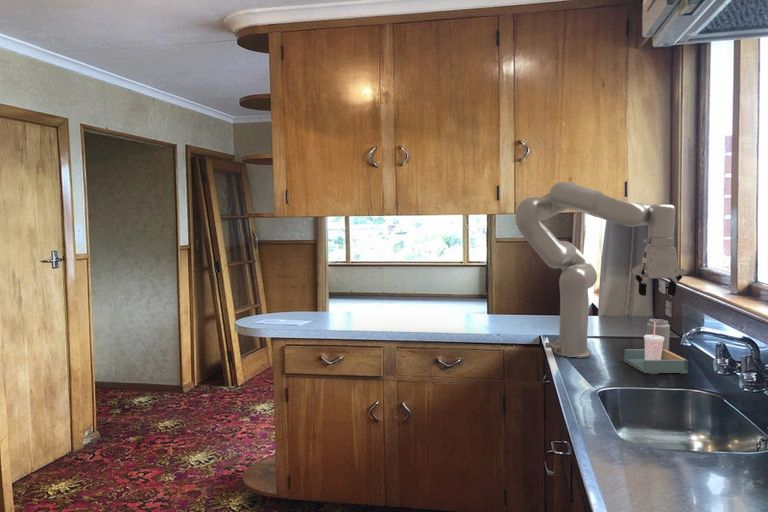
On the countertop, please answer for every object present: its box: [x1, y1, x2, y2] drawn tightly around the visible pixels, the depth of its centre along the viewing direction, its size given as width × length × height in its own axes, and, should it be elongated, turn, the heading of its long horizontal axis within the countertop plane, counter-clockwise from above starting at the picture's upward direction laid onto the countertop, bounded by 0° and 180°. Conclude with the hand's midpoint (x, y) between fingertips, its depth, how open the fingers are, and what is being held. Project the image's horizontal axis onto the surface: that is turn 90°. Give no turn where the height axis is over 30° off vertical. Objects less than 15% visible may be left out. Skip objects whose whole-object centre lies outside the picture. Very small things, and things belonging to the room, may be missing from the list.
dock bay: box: [623, 348, 689, 375], centre depth 193 cm, size 14×14×4 cm
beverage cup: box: [643, 322, 664, 360], centre depth 192 cm, size 6×6×14 cm
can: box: [645, 318, 671, 351], centre depth 210 cm, size 8×8×12 cm
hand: (656, 295), depth 190 cm, fingers open, 9 cm apart
